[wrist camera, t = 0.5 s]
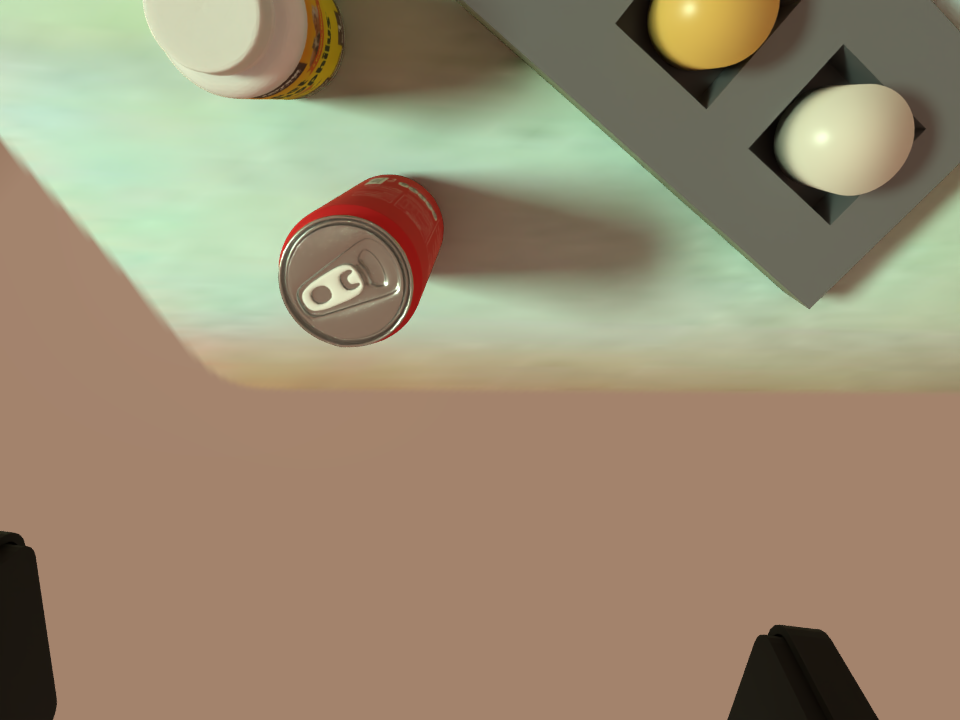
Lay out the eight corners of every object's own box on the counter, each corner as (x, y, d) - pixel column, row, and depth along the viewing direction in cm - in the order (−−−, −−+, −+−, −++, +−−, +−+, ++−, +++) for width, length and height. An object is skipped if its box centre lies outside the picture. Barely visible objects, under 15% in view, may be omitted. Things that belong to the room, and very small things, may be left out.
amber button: (698, -67, 28) (723, -87, 25) (771, 7, 29) (804, -5, 26) (626, 25, 30) (641, 16, 27) (697, 92, 31) (720, 91, 28)
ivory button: (827, 63, 30) (865, 59, 27) (892, 129, 31) (937, 132, 28) (753, 144, 31) (782, 149, 28) (817, 205, 32) (852, 217, 29)
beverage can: (463, 246, 35) (446, 315, 24) (376, 290, 36) (321, 376, 25) (414, 153, 33) (372, 180, 22) (325, 201, 34) (241, 251, 23)
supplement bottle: (307, 124, 33) (229, 134, 24) (208, 46, 32) (85, 24, 22) (372, 24, 31) (318, -9, 22) (270, -61, 30) (167, -135, 21)
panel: (560, -343, 27) (567, -395, 24) (977, 100, 32) (1023, 100, 29) (382, -66, 30) (370, -83, 27) (784, 292, 36) (809, 309, 33)
